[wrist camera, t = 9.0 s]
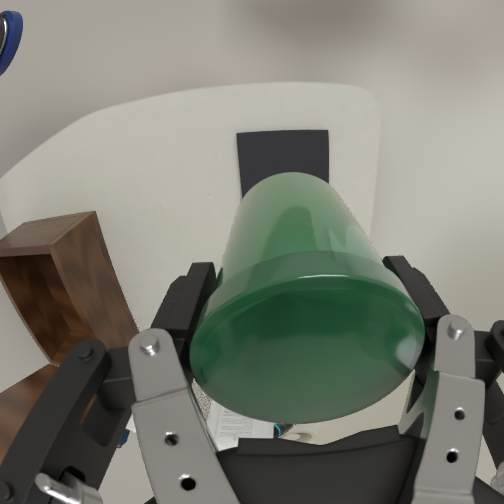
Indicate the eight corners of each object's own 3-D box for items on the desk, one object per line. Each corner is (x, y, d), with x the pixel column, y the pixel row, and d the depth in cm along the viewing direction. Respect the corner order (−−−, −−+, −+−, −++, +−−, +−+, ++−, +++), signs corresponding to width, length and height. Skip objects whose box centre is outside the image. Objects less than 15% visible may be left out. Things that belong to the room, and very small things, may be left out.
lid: (-45, 420, 11) (-26, 453, 11) (20, 479, 9) (47, 512, 10) (48, 363, 31) (57, 391, 32) (121, 381, 30) (130, 411, 30)
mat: (236, 133, 23) (236, 133, 23) (327, 129, 22) (328, 130, 22) (244, 215, 27) (244, 217, 27) (327, 212, 26) (328, 214, 26)
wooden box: (23, 222, 29) (-13, 250, 22) (95, 210, 28) (53, 244, 21) (72, 330, 39) (50, 363, 32) (142, 339, 37) (123, 381, 30)
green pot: (224, 171, 13) (158, 278, 5) (354, 167, 13) (457, 266, 5) (237, 280, 16) (212, 423, 9) (346, 276, 16) (388, 413, 8)
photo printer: (216, 396, 44) (205, 459, 33) (210, 383, 42) (197, 450, 31) (275, 396, 42) (274, 462, 32) (274, 383, 40) (272, 453, 30)
